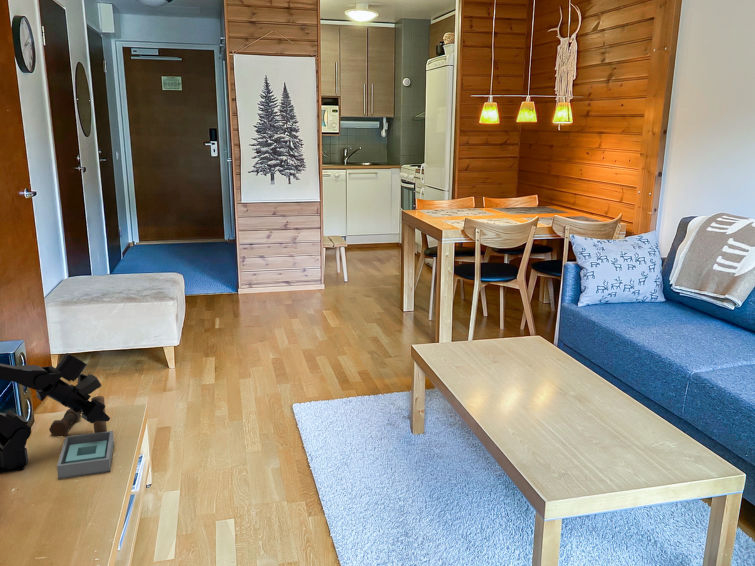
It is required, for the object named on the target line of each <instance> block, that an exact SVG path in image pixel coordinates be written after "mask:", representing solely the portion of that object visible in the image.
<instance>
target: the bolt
mask: <svg viewBox="0 0 755 566" xmlns="http://www.w3.org/2000/svg"><path fill="white" fill-rule="evenodd" d="M80 417H82V412H78V413H76V412H74V411H73V410H72V409H70V408H68V409H67V410H66V411H65V413H64V416H63V418H62V419H55V420H53V421H52V423H51V424H50V427H49V429H48V430H49V432H50V434H51V435H52V436H53V437H55V436H63V437H66V436H67V434H68V432H69V430H70V428H71V427H70V426H71V425H73V424H77V422H78V421H79V419H80Z"/></svg>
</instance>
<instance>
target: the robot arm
mask: <svg viewBox="0 0 755 566" xmlns="http://www.w3.org/2000/svg"><path fill="white" fill-rule="evenodd" d="M87 366H88V364H87V363H86V362H84V361H83V360H81V359H79V358H78V357H76V356H73V355H72V354H70V353H68V352H66V353H65V354H64V356H63V357H62V359H61V360H60V361H59V363H58V364H57V366H55V367H54V366H53V365H51V366H39V365H35V364H32V365H31V364H23V365H22V364H21V365H9V364H5V363H0V380H3V381H8V382H14V383H16V384H18V385H22V386H24V387H25V388H29V389H32V390H35V392H36V395H35V396H36V398H37V399H38V400H39V401H41V402H42V401H44V400H45V399H46V398H47V397H49V398H50V399H52V400H54V401H55V402H57V403H59V404H60V405H62V406H64V407H65V408H68V409H72V410H73V411H74V412H76V413H78V412H82V413H81V418H82V419H83V420H85V421H86V422H88V423H90V424H93V423H94V422H95V421H106V422H109V421H110V420H111V417H110V416H109V415H108V414H107V413H106V411H105V412H104V411H103V410H104V408H105V409H106V404H105V405H104V404H102V403H101V402H99V401H98V400H96V399H95V400H92V401H91V400H90V398H91V394H92V393H93V392H95V391H96V390H98V389H100V388H101V387H102V383H101V382H100V380H99V378H98V377H97V376H95V375H93V374H89V373H88V374H87V375H86V374H84V373H83V372H84V370H85V369H86V367H87ZM62 379H64V380H66V381H68V382H66V381H64V380H62ZM76 380H77V382H76V383H77V384H75V385H74V384H69V382H71V381H72V382H74V381H76ZM31 434H32V428H31V426H30V425H29V421H28V420H27V419H25V418H24V417H23V416H22V415H20V414H16V413H14V412H13V411H12V410H11V409H8V410H7V412H6V413H4V412H0V474H4V473H5V474H7V473H12V472H19V471H23V470H25V467H26V466H27V464H28V462H29V455H28V448H27V447H26V445H27V441H28V439H29V438H30V436H31Z"/></svg>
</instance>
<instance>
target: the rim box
mask: <svg viewBox="0 0 755 566" xmlns="http://www.w3.org/2000/svg"><path fill="white" fill-rule="evenodd" d="M64 437H65V438H64V441H63V445H62V448H61V452H60V455H59V457H58V458H59V459H58V461H57V464H56V471H57V479H58V480H64V479H70V478H71V479H72V478H76V477H77V478H79V477H86V476H92V475H98V474H99V475H100V474H106V473H111V466H112V459H113V452H114V446H115V445H114V444H115V441H114V440H115V437H114V430H107V431H106V432H98V433H94V432H93V433H92V432H91V433H84V434H83V433H82V434H76V435H68V436H67V435H65V436H64Z"/></svg>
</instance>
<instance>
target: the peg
mask: <svg viewBox="0 0 755 566" xmlns="http://www.w3.org/2000/svg"><path fill="white" fill-rule="evenodd" d="M95 399H96V400H98V401H99V402H101V403H102V404H104V405H105V406H106V404H105V397H104V396H102V395H97V396H94V397H92V398H91V400H90V402H91V401H92V400H95ZM103 411H104V412H105V413H106V407H105V408H104V410H103ZM92 424H93V433H98V432H106V431H108V428H107V421H95V422H94V423H92Z"/></svg>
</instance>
